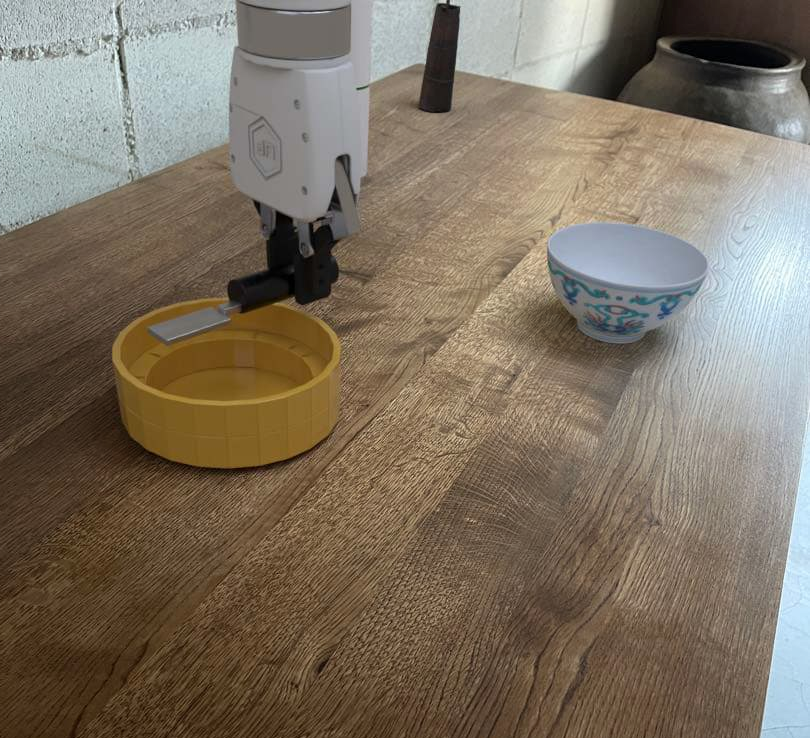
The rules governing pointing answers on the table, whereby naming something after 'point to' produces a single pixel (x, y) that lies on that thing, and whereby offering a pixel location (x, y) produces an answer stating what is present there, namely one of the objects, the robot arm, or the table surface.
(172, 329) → the putty knife
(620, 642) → the table surface
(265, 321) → the bowl
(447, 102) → the butter churn
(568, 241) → the chinaware
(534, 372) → the table surface
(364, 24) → the cylindrical container
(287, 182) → the robot arm
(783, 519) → the table surface
